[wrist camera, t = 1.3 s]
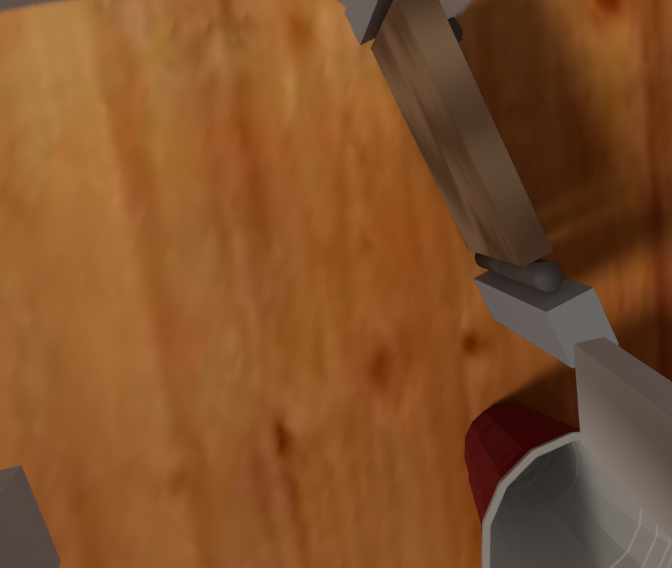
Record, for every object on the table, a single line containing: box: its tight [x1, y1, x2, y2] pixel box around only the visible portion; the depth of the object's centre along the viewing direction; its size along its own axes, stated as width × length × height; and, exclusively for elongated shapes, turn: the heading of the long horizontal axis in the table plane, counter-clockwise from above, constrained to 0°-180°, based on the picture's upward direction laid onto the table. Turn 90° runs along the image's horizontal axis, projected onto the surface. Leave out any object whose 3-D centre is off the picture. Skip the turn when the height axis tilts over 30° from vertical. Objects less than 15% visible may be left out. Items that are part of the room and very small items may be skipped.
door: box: [371, 0, 564, 292], centre depth 31 cm, size 15×3×9 cm, turn 28°
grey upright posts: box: [342, 0, 619, 368], centre depth 30 cm, size 25×2×11 cm, turn 28°
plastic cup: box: [465, 404, 672, 568], centre depth 33 cm, size 11×11×12 cm
